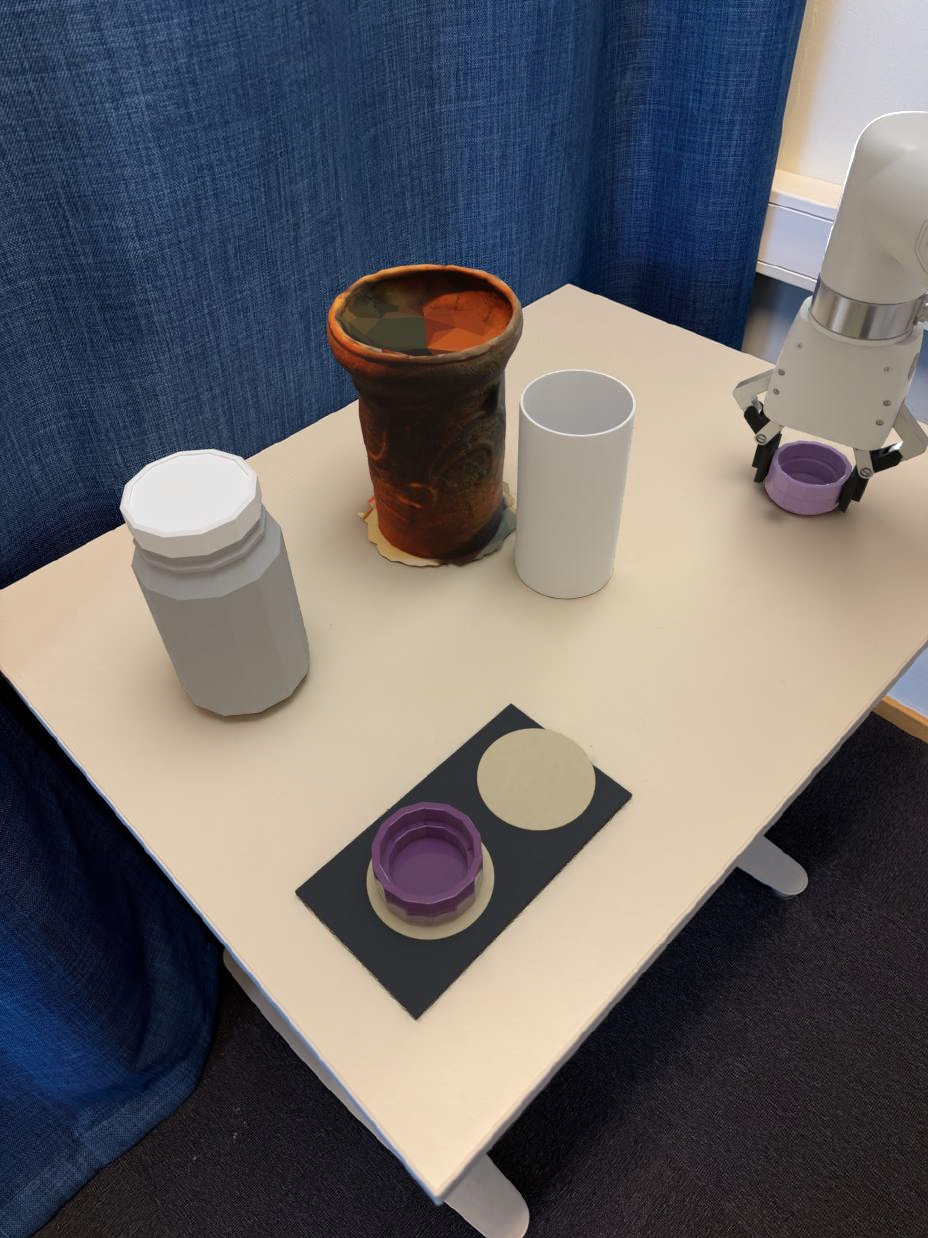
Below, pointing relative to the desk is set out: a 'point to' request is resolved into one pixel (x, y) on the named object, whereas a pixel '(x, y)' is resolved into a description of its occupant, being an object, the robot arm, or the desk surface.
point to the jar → (217, 580)
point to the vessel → (431, 406)
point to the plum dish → (427, 862)
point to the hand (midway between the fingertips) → (804, 487)
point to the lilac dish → (807, 477)
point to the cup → (571, 480)
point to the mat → (511, 846)
